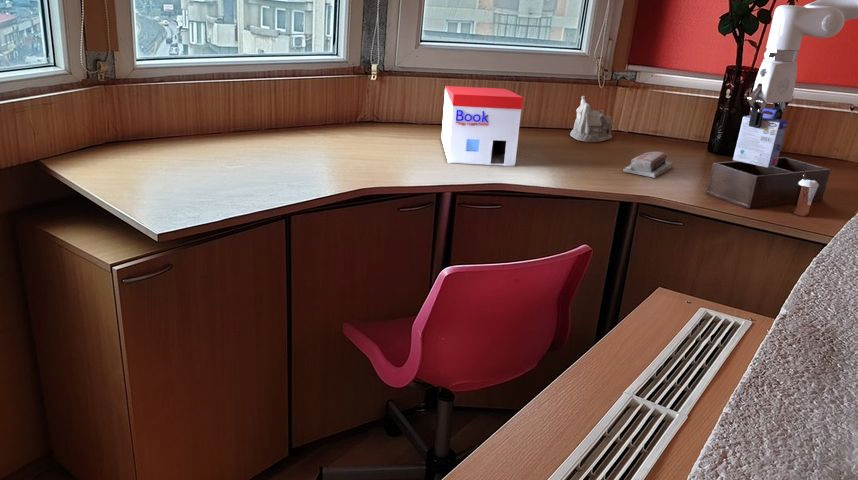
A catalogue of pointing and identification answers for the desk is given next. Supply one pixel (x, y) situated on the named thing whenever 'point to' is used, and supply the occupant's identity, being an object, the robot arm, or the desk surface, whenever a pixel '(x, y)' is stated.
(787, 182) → the divided storage box
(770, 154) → the ink cartridge box
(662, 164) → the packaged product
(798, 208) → the milkshake
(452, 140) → the bookstore
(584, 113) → the ceramic cottage
